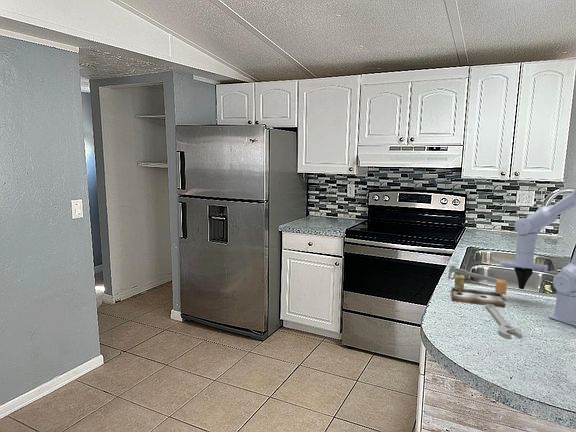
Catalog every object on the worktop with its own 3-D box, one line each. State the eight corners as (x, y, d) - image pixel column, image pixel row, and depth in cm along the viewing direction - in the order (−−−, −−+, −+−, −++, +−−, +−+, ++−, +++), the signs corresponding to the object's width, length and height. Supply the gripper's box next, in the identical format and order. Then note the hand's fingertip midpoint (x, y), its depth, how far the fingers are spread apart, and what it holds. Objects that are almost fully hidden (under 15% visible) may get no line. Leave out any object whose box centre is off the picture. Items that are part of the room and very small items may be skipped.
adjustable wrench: (484, 307, 141) (484, 302, 141) (504, 309, 140) (504, 304, 139) (500, 338, 118) (500, 332, 117) (525, 341, 116) (525, 335, 116)
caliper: (448, 279, 172) (449, 264, 171) (448, 278, 173) (449, 264, 172) (501, 283, 167) (502, 268, 166) (500, 282, 168) (501, 267, 167)
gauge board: (500, 296, 151) (501, 278, 150) (504, 307, 140) (506, 288, 139) (451, 290, 157) (452, 273, 156) (451, 300, 146) (453, 282, 145)
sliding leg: (504, 292, 150) (505, 280, 149) (507, 299, 142) (508, 286, 141) (495, 290, 151) (496, 279, 150) (497, 298, 143) (499, 285, 142)
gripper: (546, 250, 145) (541, 287, 147) (500, 247, 150) (497, 282, 152) (551, 255, 138) (546, 293, 140) (503, 251, 143) (499, 288, 145)
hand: (521, 288), depth 146 cm, fingers closed
